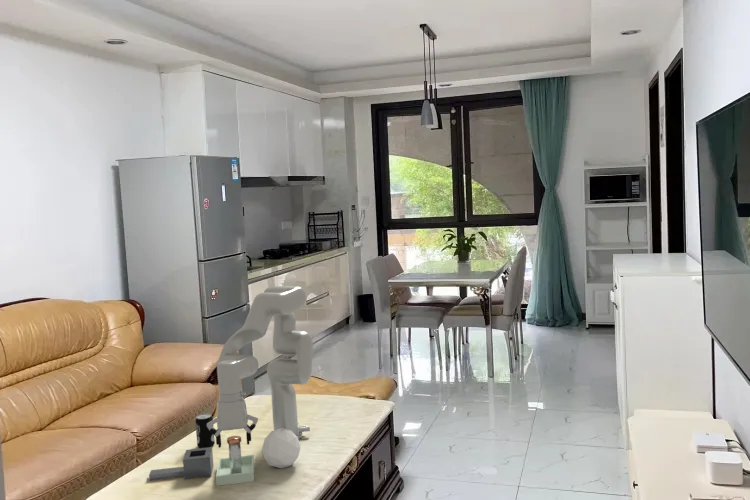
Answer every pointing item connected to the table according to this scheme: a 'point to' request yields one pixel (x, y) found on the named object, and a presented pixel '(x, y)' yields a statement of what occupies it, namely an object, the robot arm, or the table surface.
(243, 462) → the tray
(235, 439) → the pin
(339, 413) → the table surface
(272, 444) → the geodesic sphere
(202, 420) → the beverage can
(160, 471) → the hitch block
